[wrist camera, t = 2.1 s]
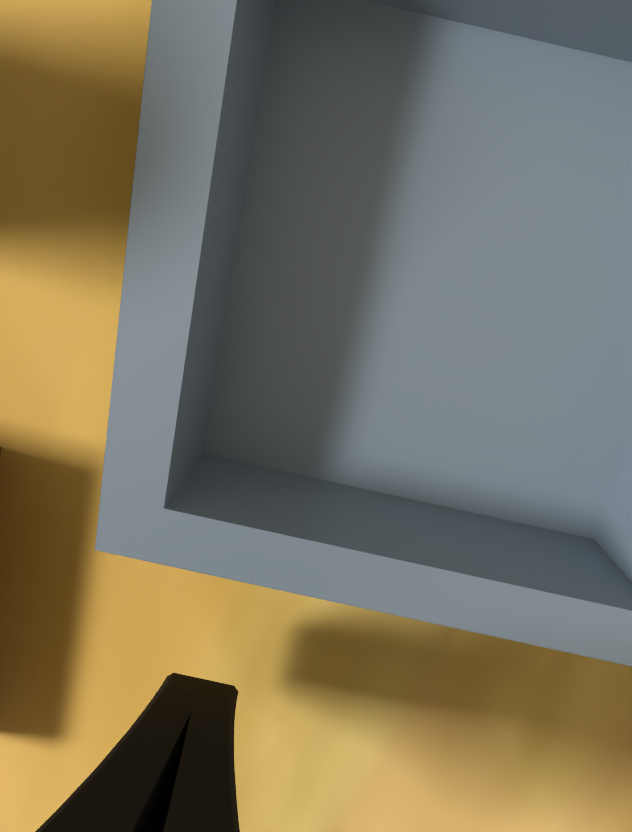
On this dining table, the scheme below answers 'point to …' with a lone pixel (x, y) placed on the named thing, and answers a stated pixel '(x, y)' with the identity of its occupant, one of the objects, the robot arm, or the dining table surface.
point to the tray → (385, 311)
